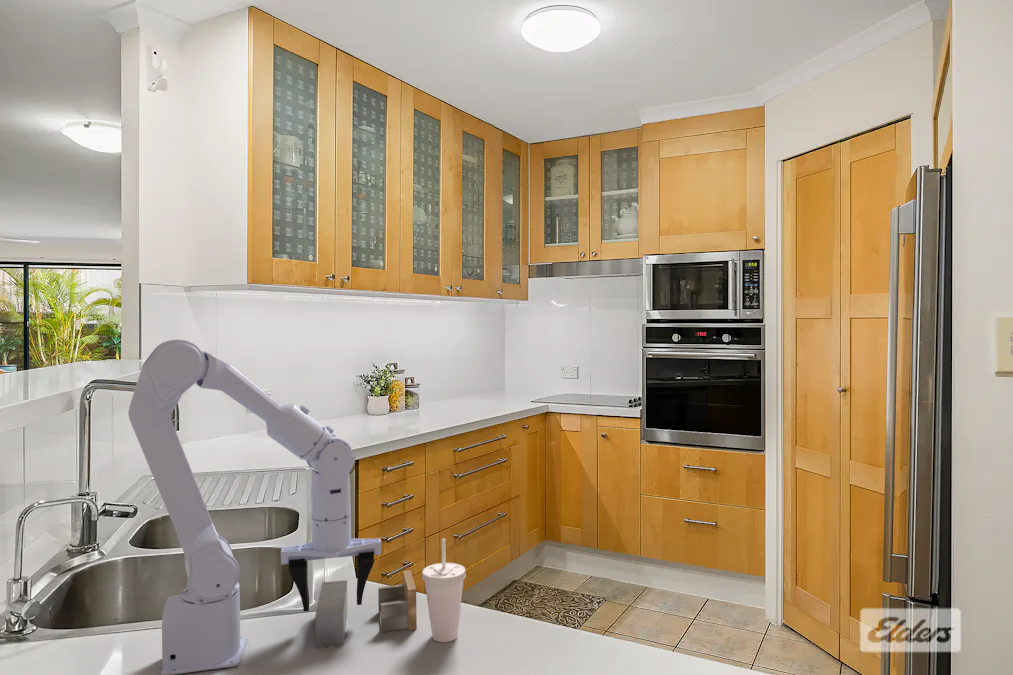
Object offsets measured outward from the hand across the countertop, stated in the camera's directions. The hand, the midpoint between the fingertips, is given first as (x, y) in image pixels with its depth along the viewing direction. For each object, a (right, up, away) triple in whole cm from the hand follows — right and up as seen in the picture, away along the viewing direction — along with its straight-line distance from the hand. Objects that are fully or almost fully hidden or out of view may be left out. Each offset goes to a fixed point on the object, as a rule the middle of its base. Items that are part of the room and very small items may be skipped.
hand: (333, 605), depth 96 cm
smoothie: (+17, -3, -3) cm, 18 cm away
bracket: (+9, -3, +2) cm, 10 cm away
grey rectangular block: (0, -4, 0) cm, 4 cm away
